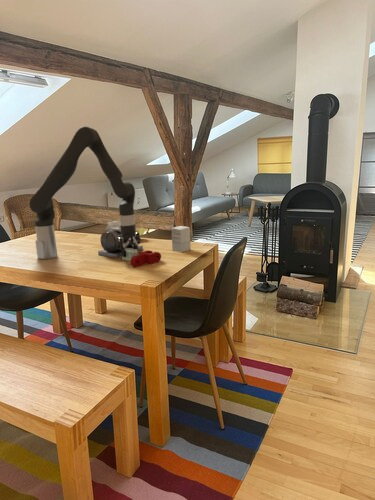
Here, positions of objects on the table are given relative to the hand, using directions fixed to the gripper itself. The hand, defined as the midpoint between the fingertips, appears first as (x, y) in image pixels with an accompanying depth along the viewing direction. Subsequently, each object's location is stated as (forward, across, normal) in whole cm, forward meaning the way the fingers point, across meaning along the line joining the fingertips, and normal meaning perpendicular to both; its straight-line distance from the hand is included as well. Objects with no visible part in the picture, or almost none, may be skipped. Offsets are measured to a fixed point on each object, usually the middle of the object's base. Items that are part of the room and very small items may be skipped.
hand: (130, 255), depth 196 cm
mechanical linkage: (+3, +2, +12) cm, 12 cm away
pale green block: (+2, 0, 0) cm, 2 cm away
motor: (+2, -8, -14) cm, 16 cm away
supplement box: (+3, -27, +13) cm, 30 cm away
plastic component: (+3, -30, -30) cm, 42 cm away
